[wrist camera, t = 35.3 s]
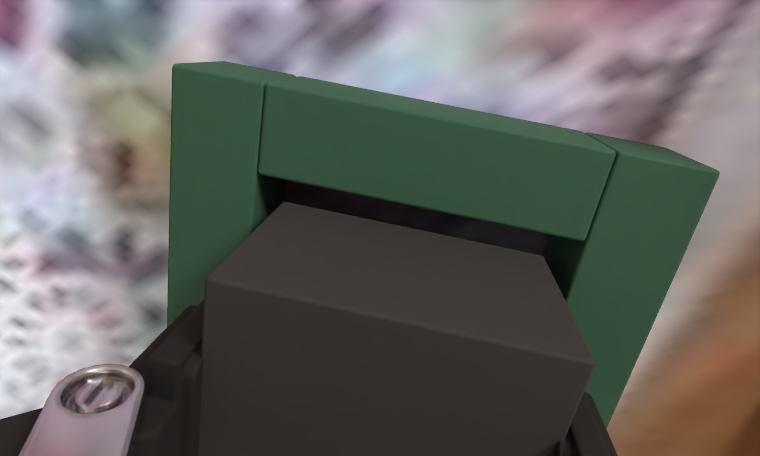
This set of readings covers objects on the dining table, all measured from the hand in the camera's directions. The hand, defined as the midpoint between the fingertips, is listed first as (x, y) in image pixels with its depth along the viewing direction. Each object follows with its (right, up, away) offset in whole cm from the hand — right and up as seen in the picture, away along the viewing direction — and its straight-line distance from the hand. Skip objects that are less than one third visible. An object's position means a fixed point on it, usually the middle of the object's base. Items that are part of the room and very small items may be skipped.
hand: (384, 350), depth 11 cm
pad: (0, 0, +1) cm, 1 cm away
